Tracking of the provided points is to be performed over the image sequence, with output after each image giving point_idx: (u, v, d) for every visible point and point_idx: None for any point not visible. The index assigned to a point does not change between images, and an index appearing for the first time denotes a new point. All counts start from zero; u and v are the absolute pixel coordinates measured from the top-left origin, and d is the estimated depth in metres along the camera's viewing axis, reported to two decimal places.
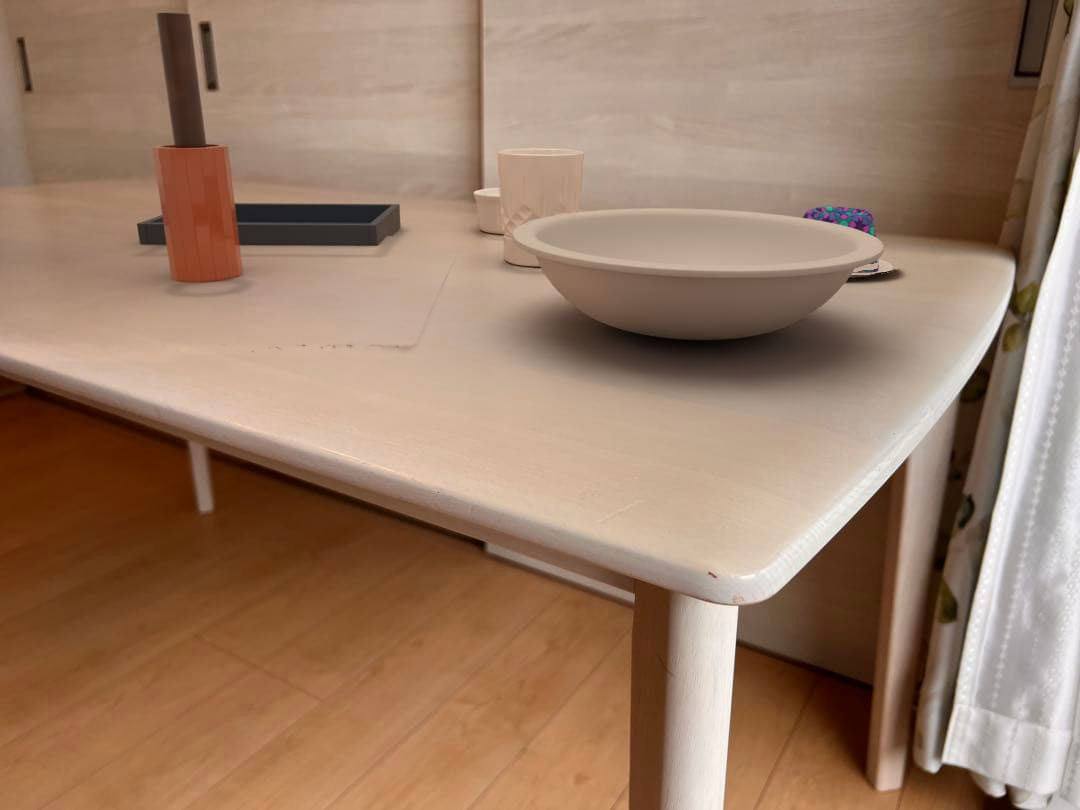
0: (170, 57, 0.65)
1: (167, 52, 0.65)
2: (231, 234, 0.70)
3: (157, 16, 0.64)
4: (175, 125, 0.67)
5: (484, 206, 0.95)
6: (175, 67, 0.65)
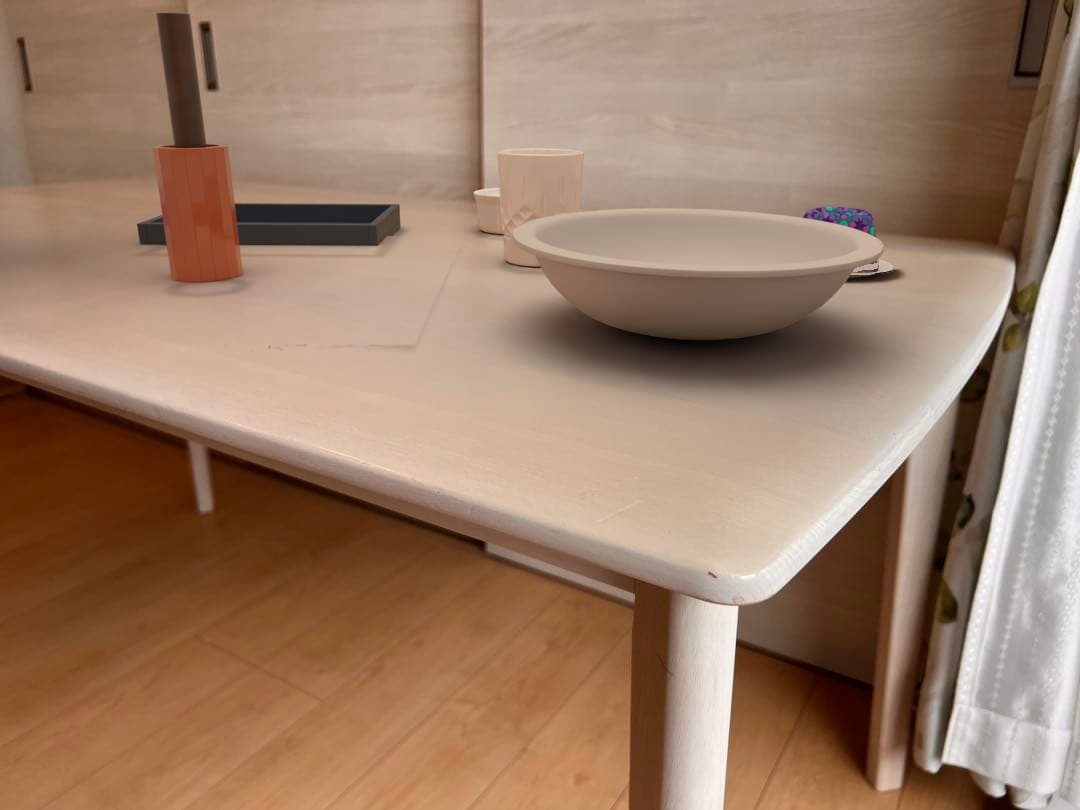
0: (170, 57, 0.65)
1: (167, 52, 0.65)
2: (231, 234, 0.70)
3: (157, 16, 0.64)
4: (175, 125, 0.67)
5: (484, 206, 0.95)
6: (175, 67, 0.65)
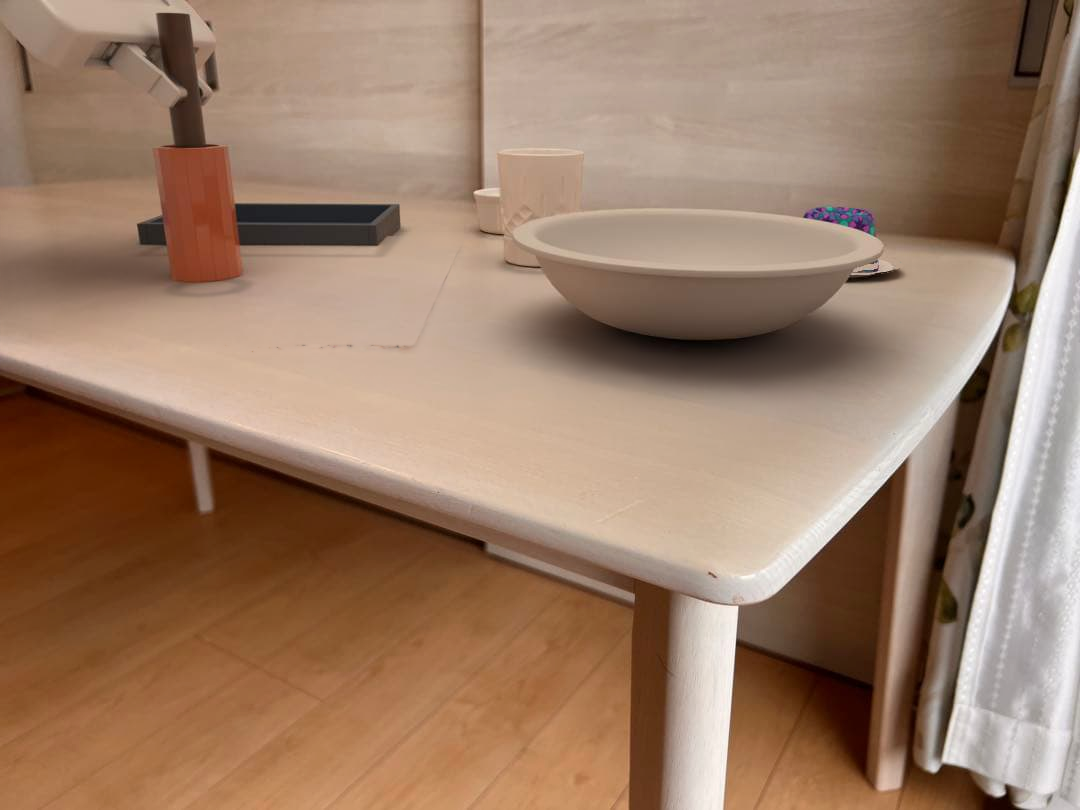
0: (170, 57, 0.65)
1: (167, 52, 0.65)
2: (231, 234, 0.70)
3: (157, 16, 0.64)
4: (175, 125, 0.67)
5: (484, 206, 0.95)
6: (175, 67, 0.65)
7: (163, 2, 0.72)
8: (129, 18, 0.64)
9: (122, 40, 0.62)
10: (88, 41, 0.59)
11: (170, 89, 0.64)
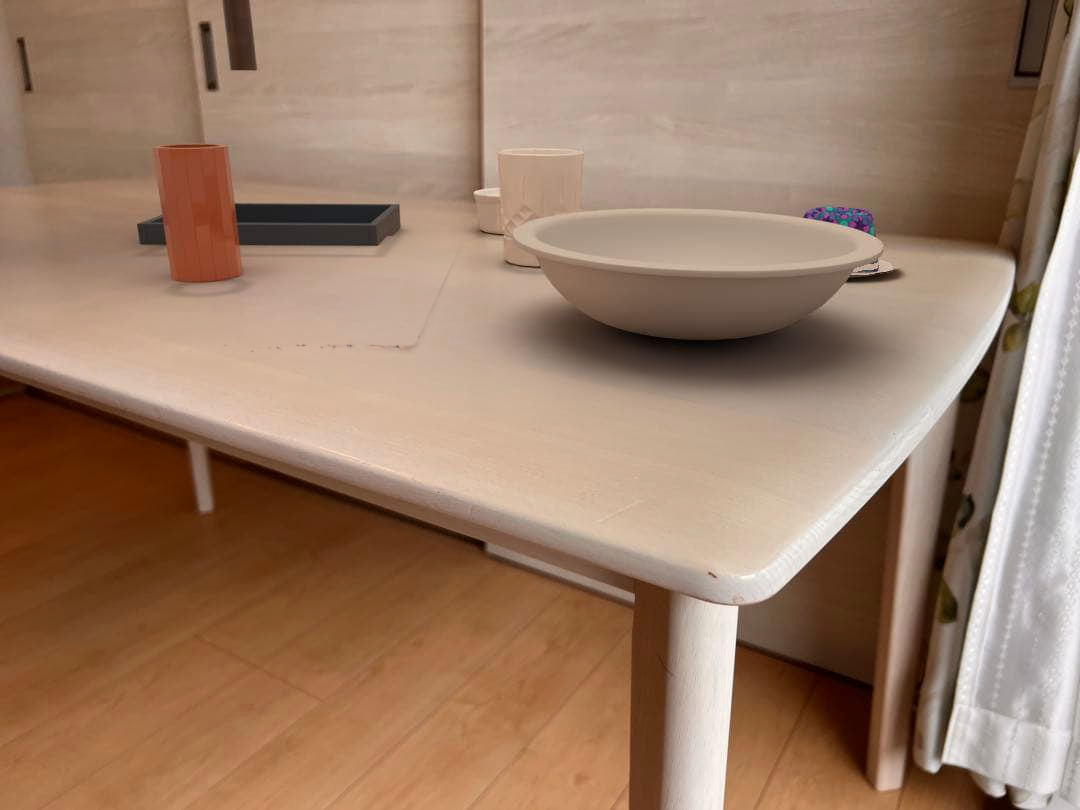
0: None
1: None
2: (231, 234, 0.70)
3: None
4: None
5: (484, 206, 0.95)
6: None
7: None
8: None
9: None
10: None
11: None
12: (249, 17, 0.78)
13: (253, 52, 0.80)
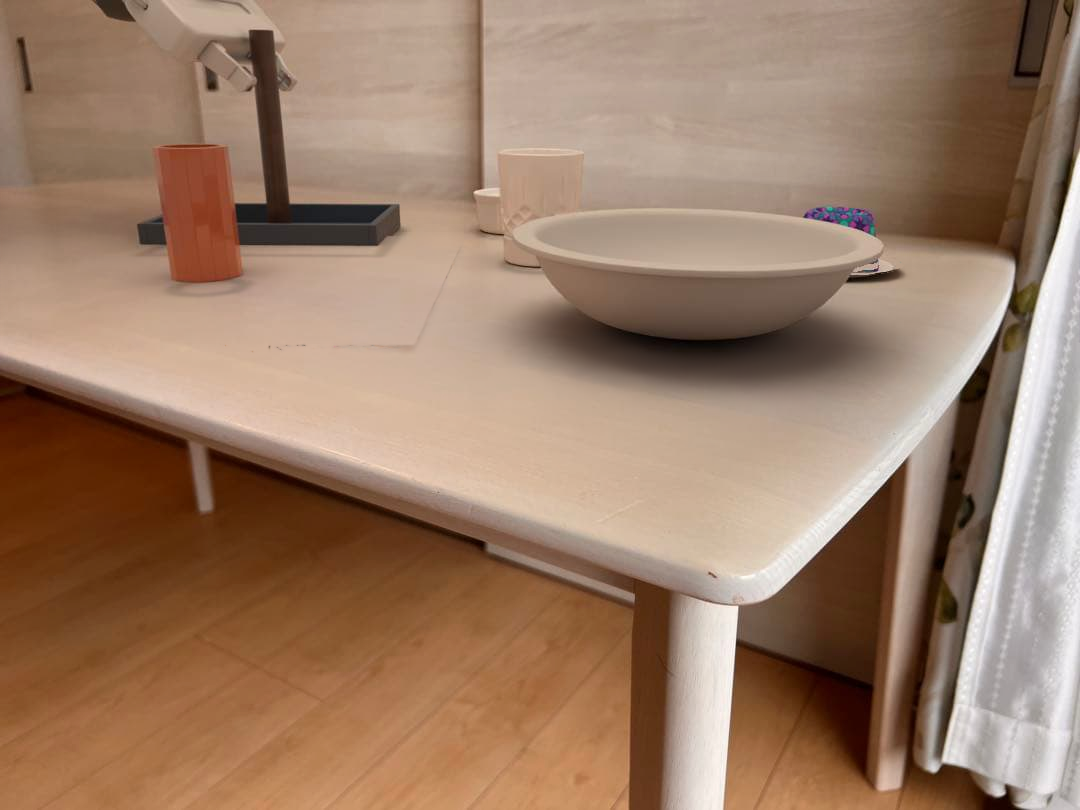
0: (259, 63, 0.86)
1: (256, 59, 0.86)
2: (231, 234, 0.70)
3: (249, 32, 0.85)
4: (260, 115, 0.88)
5: (484, 206, 0.95)
6: (262, 70, 0.86)
7: (245, 11, 0.92)
8: (227, 23, 0.84)
9: (224, 40, 0.82)
10: (203, 40, 0.79)
11: (244, 77, 0.82)
12: (286, 189, 0.91)
13: (290, 217, 0.92)
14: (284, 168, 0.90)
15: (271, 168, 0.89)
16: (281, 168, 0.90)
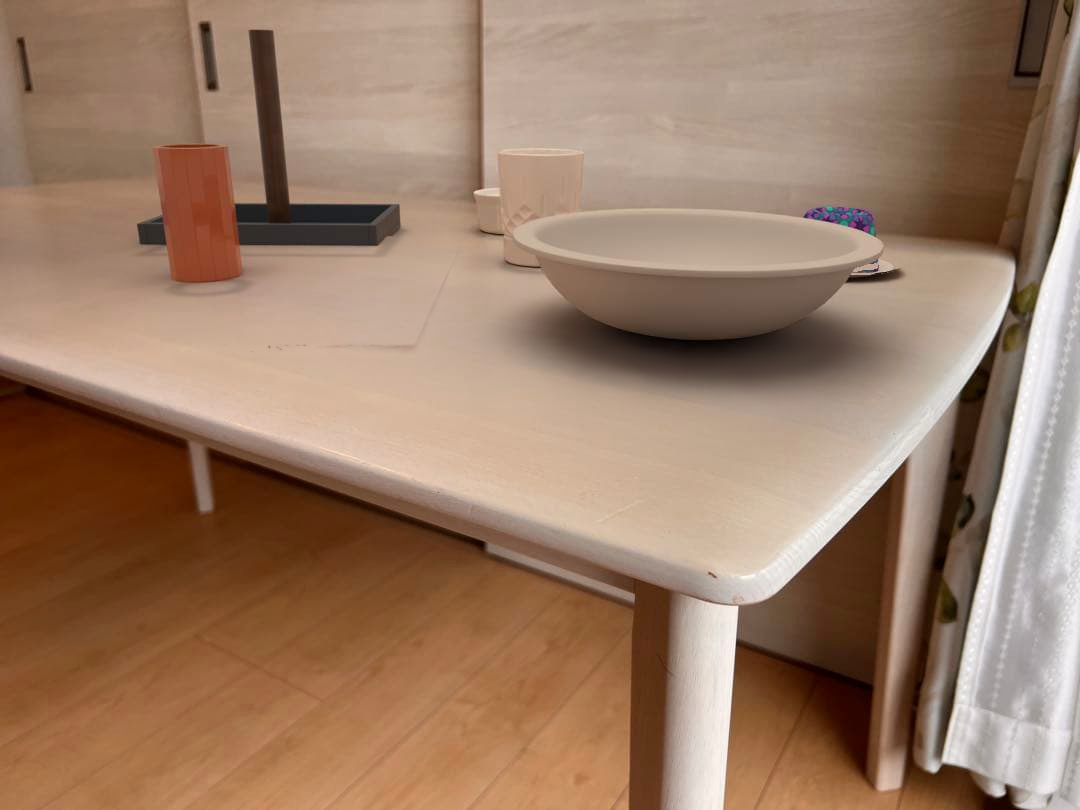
0: (259, 63, 0.86)
1: (256, 59, 0.86)
2: (231, 234, 0.70)
3: (249, 32, 0.85)
4: (260, 115, 0.88)
5: (484, 206, 0.95)
6: (262, 70, 0.86)
7: None
8: None
9: None
10: None
11: None
12: (286, 189, 0.91)
13: (290, 217, 0.92)
14: (284, 168, 0.90)
15: (271, 168, 0.89)
16: (281, 168, 0.90)
